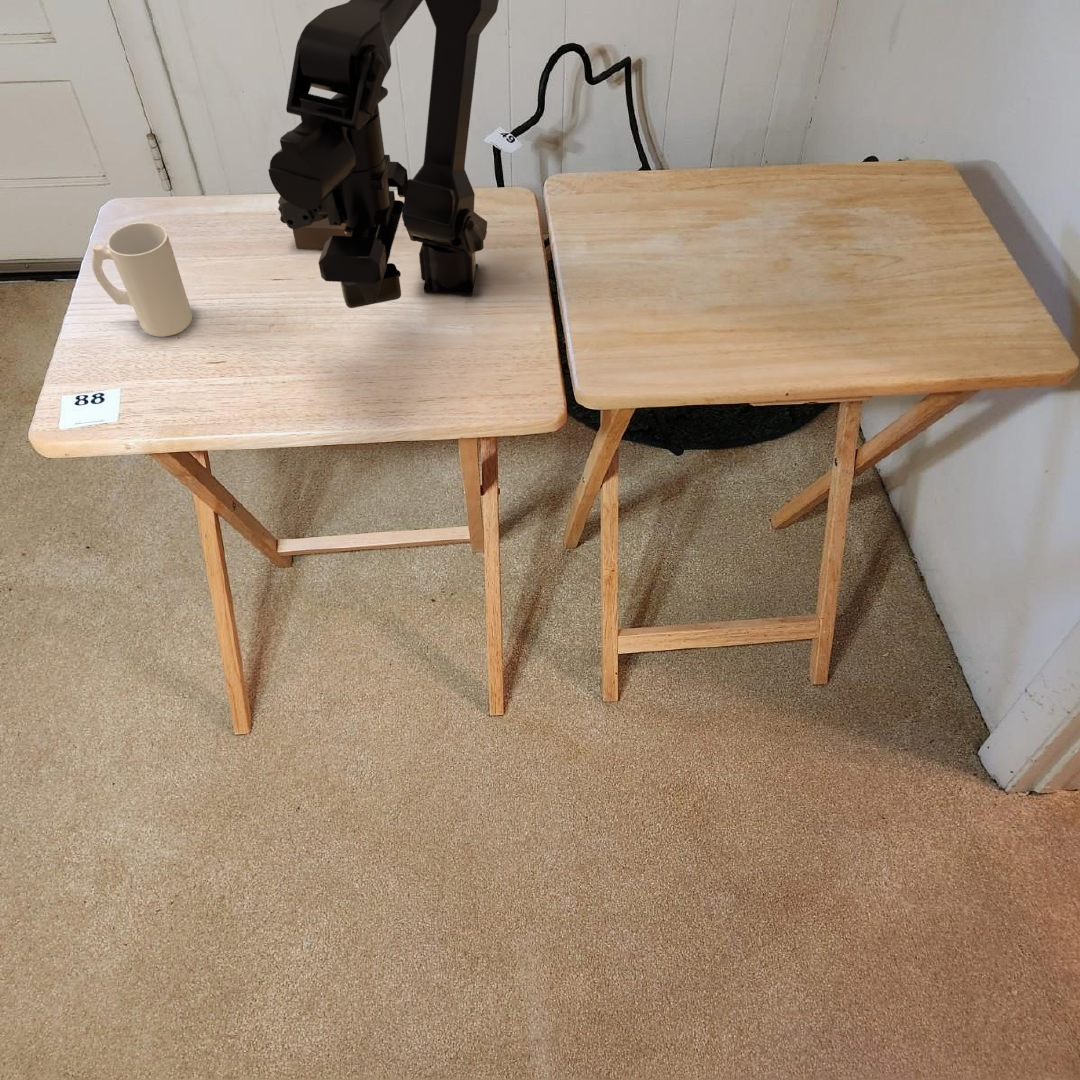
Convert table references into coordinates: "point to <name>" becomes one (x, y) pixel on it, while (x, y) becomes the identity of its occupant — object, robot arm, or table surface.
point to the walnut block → (317, 234)
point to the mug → (146, 277)
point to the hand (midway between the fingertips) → (375, 285)
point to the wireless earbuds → (386, 293)
